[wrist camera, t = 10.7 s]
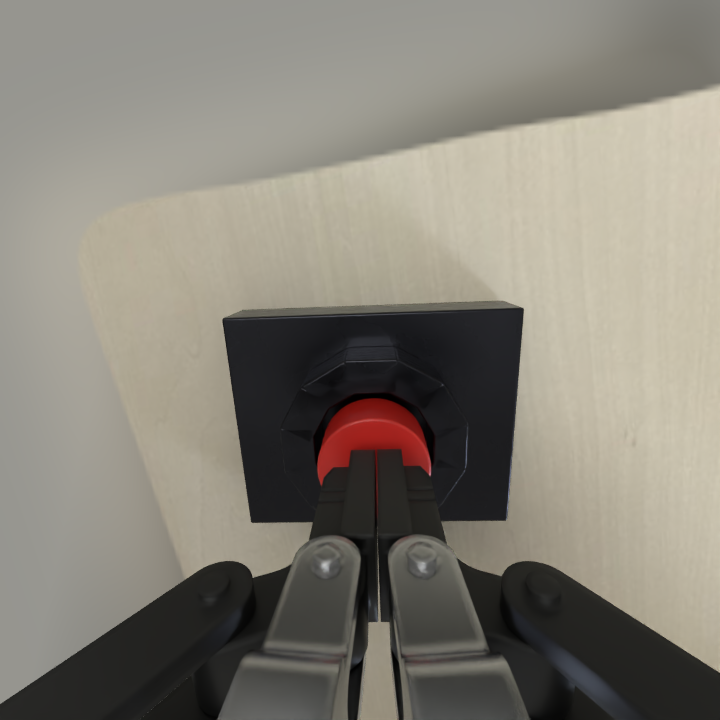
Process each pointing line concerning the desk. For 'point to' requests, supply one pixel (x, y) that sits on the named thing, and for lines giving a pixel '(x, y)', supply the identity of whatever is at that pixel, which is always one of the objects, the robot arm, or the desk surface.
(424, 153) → the desk surface
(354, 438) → the stop button
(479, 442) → the button block
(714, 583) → the desk surface
